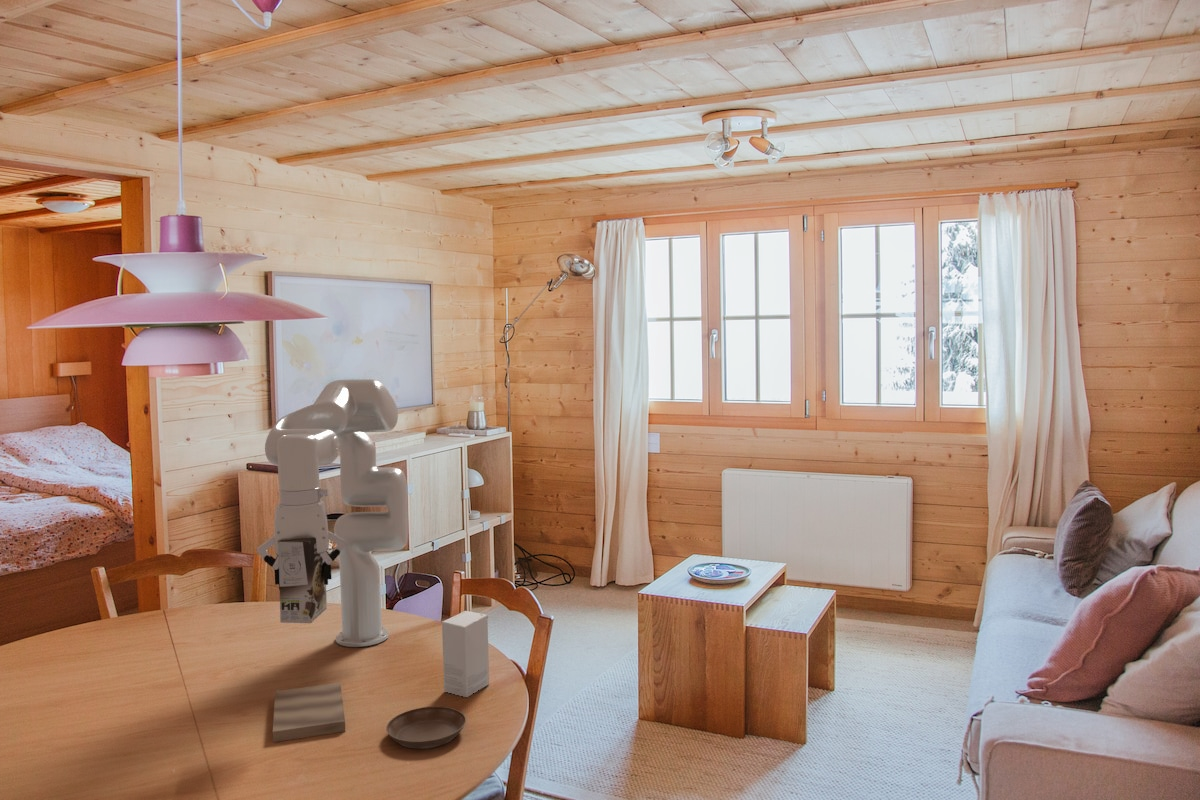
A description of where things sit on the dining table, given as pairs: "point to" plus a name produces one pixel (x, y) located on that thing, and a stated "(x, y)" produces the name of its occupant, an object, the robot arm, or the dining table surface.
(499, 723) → the dining table surface
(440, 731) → the saucer
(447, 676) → the skincare box
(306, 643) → the dining table surface
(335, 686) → the grey-brown rectangular board
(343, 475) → the robot arm
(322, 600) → the coffee box
